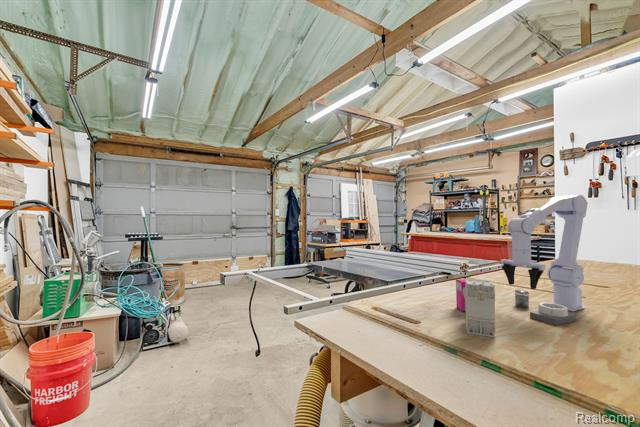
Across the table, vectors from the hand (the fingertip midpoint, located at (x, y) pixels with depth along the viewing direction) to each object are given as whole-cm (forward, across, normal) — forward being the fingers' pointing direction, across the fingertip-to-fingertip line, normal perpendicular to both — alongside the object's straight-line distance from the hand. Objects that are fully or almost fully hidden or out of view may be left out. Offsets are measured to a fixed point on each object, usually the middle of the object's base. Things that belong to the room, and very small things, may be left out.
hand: (522, 286), depth 106 cm
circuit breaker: (+10, +2, -28) cm, 30 cm away
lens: (+10, -4, +7) cm, 13 cm away
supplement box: (+10, -10, -17) cm, 22 cm away
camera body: (+10, +9, +2) cm, 13 cm away
